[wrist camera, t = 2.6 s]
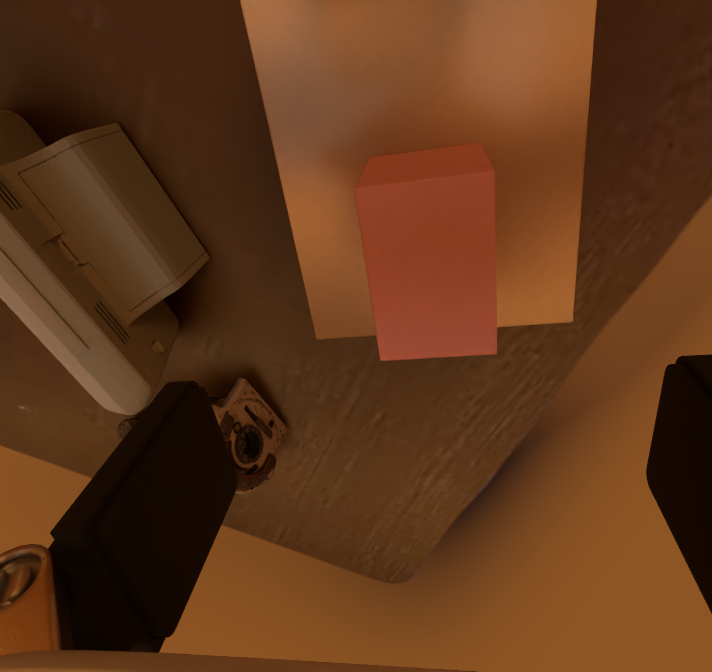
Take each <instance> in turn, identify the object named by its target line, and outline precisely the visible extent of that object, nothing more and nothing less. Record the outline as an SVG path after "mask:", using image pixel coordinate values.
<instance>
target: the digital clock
mask: <svg viewBox="0 0 712 672" xmlns="http://www.w3.org/2000/svg"><path fill="white" fill-rule="evenodd" d="M209 259H210V257H209V255H208V254H207V253H206V252H205V250H204V248H203V247H202V245H201V244H200V242H199V241H198V239H197V238H196V237H195V235H194V234H193V232H192V231H191V229H190V228H189V226H188V225H187V223H186V222H185V221H184V219H183V218H182V216H181V215H180V213H179V212H178V210H177V209H176V207H175V206H174V205H173V203H172V202H171V200H170V199H169V197H168V196H167V194H166V193H165V191H164V190H163V188H162V187H161V186H160V184H159V183H158V181H157V180H156V178H155V177H154V175H153V174H152V172H151V171H150V170H149V168H148V167H147V165H146V164H145V162H144V161H143V159H142V158H141V156H140V155H139V154H138V152H137V151H136V149H135V148H134V146H133V145H132V143H131V142H130V140H129V139H128V137H127V136H126V135H125V133H124V132H123V131H122V129H121V127H120V126H119V124H118V123H117V122H116V123H112V124H108V125H104V126H101V127H97V128H93V129H89V130H86V131H82V132H79V133H75V134H72V135H69V136H67V137H64V138H62V139H60V140H59V141H57V142H55V143H53V144H51V145H49V146H48V147H46V145H45V144H44V143H43V141H42V140H41V139H40V138H39V136H38V135H37V134H36V132H35V131H34V130H33V129H32V127H31V126H30V125H29V124H28V123H27V121H26V120H25V119H24V118H23V117H21V116H20V115H18V114H16V113H14V112H12V111H8V110H3V109H0V298H1V299H2V300H3V301H4V302H5V303H6V304H7V305H8V306H9V307H10V309H11V310H12V311H13V312H14V313H15V314H16V315H17V316H18V317H19V318H20V319H21V320H22V322H23V323H24V324H25V325H26V326H27V327H28V328H29V329H30V330H31V331H32V332H33V333H34V334H35V336H36V337H37V338H38V339H39V340H40V341H41V342H42V343H43V344H44V345H45V346H46V347H47V348H48V350H49V351H50V352H51V353H52V354H53V355H54V356H55V357H56V358H57V359H58V360H59V361H60V363H61V364H62V365H63V366H64V367H65V368H66V369H67V370H68V371H69V372H70V373H71V374H72V375H73V376H74V378H75V379H76V380H77V381H78V382H79V383H80V384H81V385H82V386H83V387H84V388H85V389H86V390H87V391H88V392H89V393H90V394H91V395H92V396H93V398H94V399H95V400H96V401H97V402H98V403H99V404H100V405H101V406H103V407H104V408H105V409H106V410H108V411H111V412H116V413H121V414H126V415H135V414H136V413H138V412H139V411H141V410H142V409H143V408H144V407H145V406H146V405H147V404H148V403H149V401H150V399H151V397H152V395H153V393H154V391H155V389H156V387H157V385H158V382H159V380H160V377H161V375H162V372H163V370H164V367H165V365H166V362H167V360H168V357H169V355H170V352H171V349H172V347H173V344H174V342H175V339H176V337H177V334H178V330H179V322H178V320H177V318H176V316H175V315H174V313H173V312H172V311H171V309H170V308H169V307H168V305H167V304H166V303H165V301H164V300H163V299H164V298H165V297H167V296H169V295H170V294H172V293H173V292H175V291H177V290H178V289H179V288H180V287H182V286H183V285H184V284H185V283H186V282H187V281H188V280H189V279H190V278H191V277H192V276H193V275H194V274H195V273H196V272H197V271H198V270H199V269H200V268H201V267H202V266H203V265H204V264H205V263H206V262H207V261H208V260H209Z"/></svg>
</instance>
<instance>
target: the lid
mask: <svg viewBox="0 0 712 672" xmlns="http://www.w3.org/2000/svg"><path fill="white" fill-rule="evenodd" d="M240 2H241V7H242V11H243V16H244V20H245V25H246V29H247V33H248V38H249V42H250V47H251V51H252V56H253V60H254V64H255V69H256V73H257V78H258V82H259V87H260V91H261V95H262V100H263V104H264V109H265V113H266V118H267V122H268V126H269V131H270V135H271V140H272V144H273V149H274V153H275V157H276V162H277V166H278V171H279V175H280V180H281V184H282V188H283V193H284V197H285V202H286V206H287V211H288V215H289V219H290V224H291V228H292V233H293V237H294V242H295V246H296V250H297V255H298V259H299V264H300V268H301V273H302V277H303V281H304V286H305V290H306V295H307V299H308V304H309V308H310V312H311V317H312V321H313V326H314V330H315V335H316V339H331V338H346V337H361V336H375V335H376V329H375V323H374V316H373V310H372V303H371V297H370V290H369V284H368V277H367V271H366V264H365V258H364V251H363V245H362V239H361V232H360V226H359V219H358V213H357V206H356V200H355V193H354V188H355V186H356V184H357V182H358V180H359V178H360V176H361V174H362V172H363V170H364V168H365V166H366V164H367V162H368V160H369V158H370V157H377V156H384V155H391V154H399V153H406V152H413V151H420V150H428V149H435V148H442V147H450V146H457V145H464V144H472V143H479V142H480V143H481V145H482V147H483V149H484V151H485V153H486V155H487V157H488V159H489V161H490V163H491V165H492V167H493V169H494V171H495V219H496V299H497V327H507V326H522V325H537V324H551V323H566V322H572V321H573V310H574V297H575V283H576V270H577V257H578V243H579V230H580V217H581V204H582V190H583V177H584V164H585V150H586V137H587V124H588V111H589V97H590V84H591V71H592V58H593V44H594V31H595V18H596V4H597V0H240Z"/></svg>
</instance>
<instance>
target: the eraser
mask: <svg viewBox="0 0 712 672" xmlns="http://www.w3.org/2000/svg"><path fill="white" fill-rule="evenodd" d="M354 193H355V200H356V206H357V213H358V219H359V226H360V232H361V239H362V245H363V251H364V258H365V264H366V271H367V277H368V284H369V290H370V297H371V303H372V310H373V316H374V323H375V329H376V336H377V342H378V349H379V355H380V360H381V361H388V360H405V359H422V358H439V357H456V356H474V355H491V354H497V299H496V219H495V171H494V169H493V167H492V165H491V163H490V161H489V159H488V157H487V155H486V153H485V151H484V149H483V147H482V145H481V143H480V142H479V143H472V144H464V145H457V146H450V147H442V148H435V149H428V150H420V151H413V152H406V153H399V154H391V155H384V156H377V157H370V158H369V160H368V162H367V164H366V166H365V168H364V170H363V172H362V174H361V176H360V178H359V180H358V182H357V184H356V186H355V188H354Z"/></svg>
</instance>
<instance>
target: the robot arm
mask: <svg viewBox="0 0 712 672" xmlns="http://www.w3.org/2000/svg"><path fill="white" fill-rule="evenodd" d="M646 474H647V481H648V485H649V488H650V490H651V492H652V494H653V496H654V498H655V500H656V501H657V504H658V506H659V508H660V510H661V512H662V514H663V516H664V518H665V520H666V522H667V524H668V526H669V528H670V530H671V532H672V534H673V536H674V538H675V540H676V543H677V544H678V547H679V549H680V551H681V553H682V555H683V557H684V559H685V561H686V563H687V564H688V567H689V569H690V571H691V573H692V575H693V577H694V579H695V581H696V583H697V585H698V587H699V589H700V591H701V593H702V595H703V597H704V599H705V601H706V603H707V605H708V607H709V609H710V611H711V613H712V355H693V356H681V357H679V358H678V359H677V360H676V363H675V364H670V365H668V366H667V367H666V370H665V374H664V379H663V384H662V390H661V395H660V401H659V405H658V411H657V416H656V421H655V427H654V432H653V438H652V442H651V448H650V453H649V458H648V464H647V470H646ZM237 485H238V476H237V472H236V470H235V467H234V464H233V461H232V459H231V456H230V453H229V451H228V448H227V445H226V442H225V440H224V437H223V434H222V432H221V429H220V426H219V423H218V421H217V418H216V415H215V412H214V410H213V407H212V404H211V402H210V399H209V396H208V393H207V391H206V390H205V388H203V387H199V385H198V384H197V383H196V382H194V381H183V382H170V383H167V384H166V385H165V386H164V387H163V389H162V390H161V391H160V393H159V394H158V395H157V396H156V398H155V399H154V400H153V402H152V403H151V404H150V405H149V407H148V408H147V409H146V410H145V412H144V413H143V414H142V416H141V417H140V418H139V419H138V421H137V422H136V423H135V425H134V426H133V427H132V428H131V430H130V431H129V432H128V434H127V435H126V436H125V437H124V439H123V440H122V441H121V443H120V444H119V445H118V446H117V448H116V449H115V450H114V451H113V453H112V454H111V455H110V457H109V458H108V459H107V460H106V462H105V463H104V464H103V466H102V467H101V468H100V469H99V471H98V472H97V473H96V475H95V476H94V477H93V478H92V480H91V481H90V482H89V484H88V485H87V486H86V487H85V489H84V490H83V491H82V493H81V494H80V495H79V497H78V498H77V499H76V500H75V502H74V503H73V504H72V505H71V507H70V508H69V509H68V510H67V512H66V513H65V514H64V515H63V517H62V518H61V520H60V521H59V522H58V523H57V524H56V526H55V527H54V529H53V530H52V531H51V532H50V534H51V535H52V536H53V538H54V541H53V543H52V544H51V545H50V547H49V548H48V549H47V548H46V547H44V546H42V545H37V544H29V545H23V546H18V547H16V548H13V549H11V550H8V551H6V552H4V553H2V554H1V555H0V672H475V671H459V670H443V669H426V668H410V667H395V666H378V665H363V664H362V665H361V664H346V663H330V662H313V661H297V660H279V659H261V658H244V657H225V656H207V655H190V654H169V653H159V651H160V649H161V647H162V645H163V642H164V640H165V638H166V637H170V636H171V635H172V634H173V633H174V631H175V629H176V627H177V625H178V623H179V620H180V618H181V616H182V614H183V611H184V609H185V606H186V604H187V602H188V600H189V597H190V595H191V593H192V591H193V588H194V586H195V584H196V582H197V579H198V577H199V575H200V572H201V570H202V568H203V565H204V563H205V561H206V558H207V556H208V554H209V552H210V549H211V547H212V545H213V543H214V540H215V538H216V536H217V533H218V531H219V529H220V526H221V524H222V522H223V520H224V517H225V515H226V513H227V511H228V508H229V506H230V504H231V501H232V499H233V497H234V495H235V492H236V489H237Z"/></svg>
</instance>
